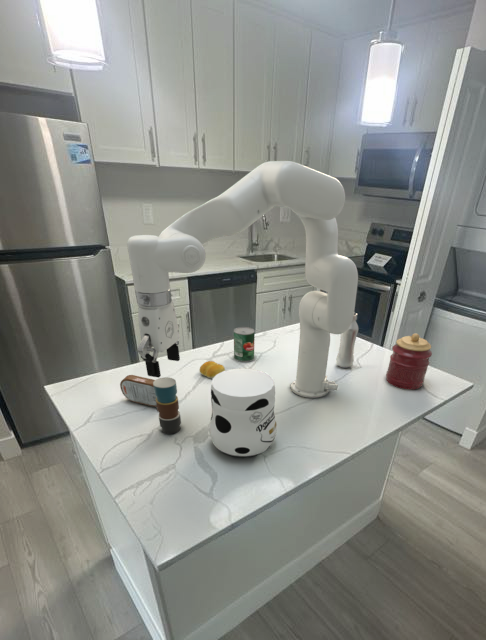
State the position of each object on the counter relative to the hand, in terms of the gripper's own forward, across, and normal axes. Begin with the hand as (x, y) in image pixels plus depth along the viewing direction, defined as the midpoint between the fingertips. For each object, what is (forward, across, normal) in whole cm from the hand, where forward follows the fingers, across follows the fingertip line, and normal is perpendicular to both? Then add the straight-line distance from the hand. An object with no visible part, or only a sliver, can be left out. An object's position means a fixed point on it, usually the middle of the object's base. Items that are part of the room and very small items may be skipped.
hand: (164, 367), depth 93 cm
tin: (+18, +10, +14) cm, 25 cm away
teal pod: (+9, 0, 0) cm, 9 cm away
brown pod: (+14, 0, 0) cm, 14 cm away
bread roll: (+19, +36, +3) cm, 40 cm away
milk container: (+19, 0, -20) cm, 28 cm away
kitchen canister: (+20, +52, -63) cm, 84 cm away
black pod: (+18, 0, 0) cm, 18 cm away
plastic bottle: (+20, +58, -41) cm, 74 cm away
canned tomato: (+19, +52, -3) cm, 56 cm away
